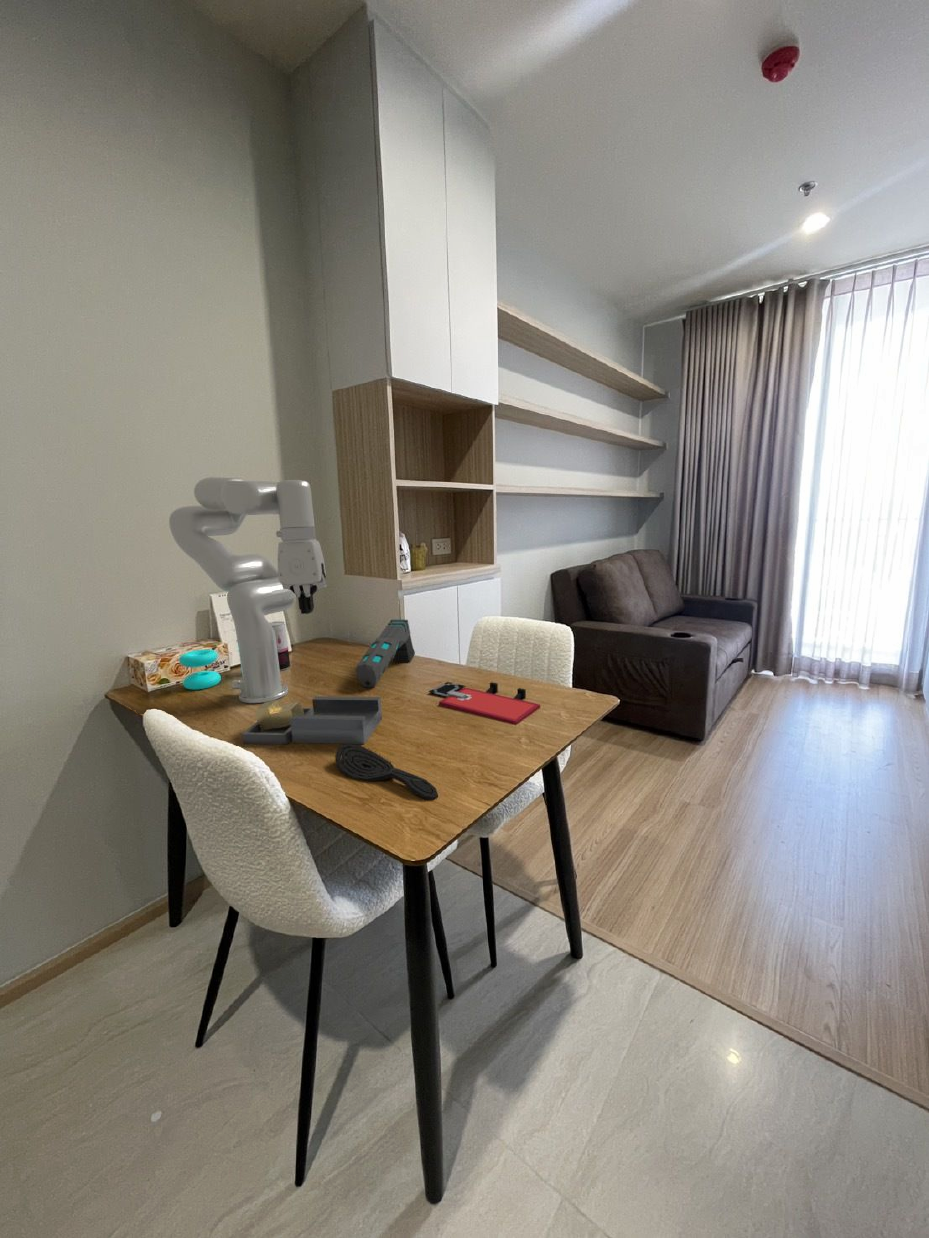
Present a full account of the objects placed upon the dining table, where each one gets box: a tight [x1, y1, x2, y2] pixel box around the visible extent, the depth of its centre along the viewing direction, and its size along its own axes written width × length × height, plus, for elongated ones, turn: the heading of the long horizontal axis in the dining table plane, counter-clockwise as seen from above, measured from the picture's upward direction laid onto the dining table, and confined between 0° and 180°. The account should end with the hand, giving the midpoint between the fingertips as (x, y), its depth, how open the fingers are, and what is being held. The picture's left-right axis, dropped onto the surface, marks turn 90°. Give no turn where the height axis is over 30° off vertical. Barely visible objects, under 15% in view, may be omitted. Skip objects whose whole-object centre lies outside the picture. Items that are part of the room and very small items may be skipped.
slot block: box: [290, 695, 383, 745], centre depth 111 cm, size 16×13×6 cm
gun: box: [354, 619, 416, 688], centre depth 151 cm, size 7×29×15 cm, turn 165°
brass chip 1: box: [253, 698, 281, 731], centre depth 113 cm, size 5×5×4 cm
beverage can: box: [269, 621, 291, 672], centre depth 158 cm, size 6×6×15 cm
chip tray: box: [241, 707, 313, 745], centre depth 113 cm, size 10×15×2 cm, turn 173°
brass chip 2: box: [270, 701, 305, 728], centre depth 112 cm, size 5×5×4 cm
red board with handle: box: [428, 681, 541, 725], centre depth 125 cm, size 30×3×15 cm
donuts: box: [178, 649, 222, 691], centre depth 146 cm, size 10×10×10 cm
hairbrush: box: [334, 741, 439, 801], centre depth 90 cm, size 8×4×25 cm
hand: (307, 612), depth 118 cm, fingers closed
